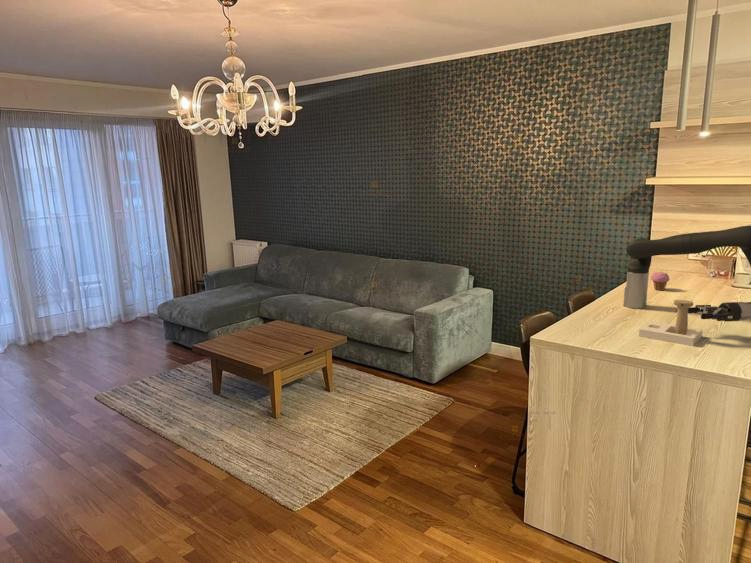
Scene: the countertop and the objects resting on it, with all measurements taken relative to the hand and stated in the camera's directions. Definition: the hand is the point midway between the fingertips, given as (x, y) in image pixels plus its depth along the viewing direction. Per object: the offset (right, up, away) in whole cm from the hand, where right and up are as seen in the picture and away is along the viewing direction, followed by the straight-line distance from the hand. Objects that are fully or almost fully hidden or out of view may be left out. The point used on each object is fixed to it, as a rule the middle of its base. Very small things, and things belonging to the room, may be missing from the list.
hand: (694, 313), depth 197 cm
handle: (-4, -10, +2) cm, 11 cm away
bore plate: (-7, -10, +5) cm, 13 cm away
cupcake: (+30, +8, +78) cm, 84 cm away
